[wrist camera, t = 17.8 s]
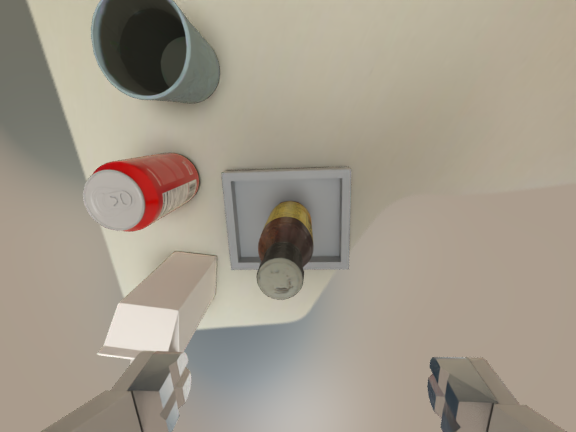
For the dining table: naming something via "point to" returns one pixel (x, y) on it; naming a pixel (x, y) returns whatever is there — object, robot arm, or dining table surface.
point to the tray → (280, 188)
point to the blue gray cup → (153, 51)
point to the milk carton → (163, 307)
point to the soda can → (139, 190)
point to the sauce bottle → (284, 250)
